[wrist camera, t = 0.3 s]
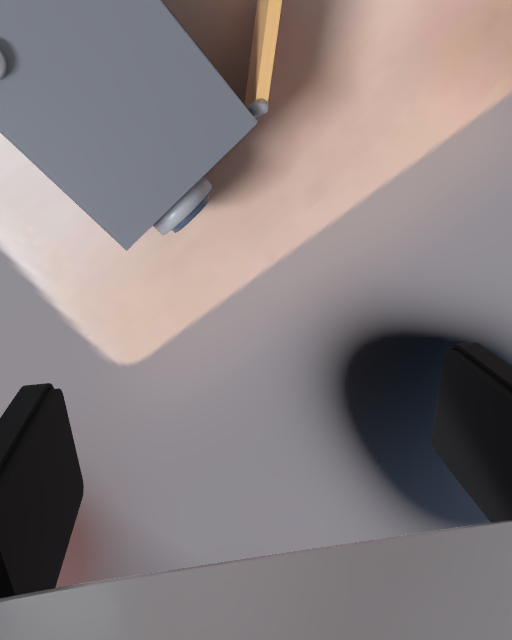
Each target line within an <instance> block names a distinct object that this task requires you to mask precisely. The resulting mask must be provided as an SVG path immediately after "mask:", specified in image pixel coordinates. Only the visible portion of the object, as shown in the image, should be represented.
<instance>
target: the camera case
mask: <svg viewBox="0 0 512 640" xmlns="http://www.w3.org/2000/svg"><path fill="white" fill-rule="evenodd" d="M257 123H258V122H257V121H256V119H255V118H254V117H253V116H252V114H251V113H250V112H249V110H248V109H247V108H246V106H245V105H244V104H243V103H242V101H241V100H240V99H239V98H238V96H237V95H236V94H235V92H234V91H233V90H232V89H231V87H230V86H229V85H228V84H227V82H226V81H225V80H224V79H223V77H222V76H221V75H220V74H219V72H218V71H217V70H216V69H215V67H214V66H213V65H212V64H211V62H210V61H209V60H208V59H207V57H206V56H205V55H204V54H203V52H202V51H201V50H200V49H199V47H198V46H197V45H196V44H195V42H194V41H193V40H192V39H191V37H190V36H189V35H188V34H187V32H186V31H185V30H184V29H183V27H182V26H181V25H180V24H179V22H178V21H177V20H176V19H175V17H174V16H173V15H172V14H171V12H170V11H169V10H168V9H167V7H166V6H165V5H164V4H163V2H162V1H161V0H0V133H1V134H2V135H4V136H5V137H6V138H7V139H8V140H9V141H10V142H11V143H12V144H13V145H14V146H15V147H16V148H17V149H19V150H20V151H21V152H22V153H23V154H24V155H25V156H26V157H27V158H28V159H29V160H30V161H31V162H32V163H33V164H35V165H36V166H37V167H38V168H39V169H40V170H41V171H42V172H43V173H44V174H45V175H46V176H47V177H48V178H50V179H51V180H52V181H53V182H54V183H55V184H56V185H57V186H58V187H59V188H60V189H61V190H62V191H63V192H64V193H66V194H67V195H68V196H69V197H70V198H71V199H72V200H73V201H74V202H75V203H76V204H77V205H78V206H79V207H80V208H82V209H83V210H84V211H85V212H86V213H87V214H88V215H89V216H90V217H91V218H92V219H93V220H94V221H95V222H97V223H98V224H99V225H100V226H101V227H102V228H103V229H104V230H105V231H106V232H107V233H108V234H109V235H110V236H111V237H113V238H114V239H115V240H116V241H117V242H118V243H119V244H120V245H121V246H122V247H123V248H124V249H125V250H126V251H127V250H128V249H129V248H130V247H131V246H132V245H133V244H134V243H135V242H136V241H137V240H138V239H139V238H140V237H141V236H142V235H143V234H144V233H145V232H146V231H147V230H148V229H149V228H151V227H152V226H154V227H155V228H156V229H157V230H158V231H159V232H160V233H161V234H162V235H165V234H167V233H168V232H169V231H171V230H173V231H174V232H175V233H176V232H178V231H179V230H181V229H182V228H183V227H184V226H186V225H187V224H188V223H189V222H190V221H191V220H192V219H193V218H194V217H195V216H196V215H197V214H198V213H199V212H200V211H201V210H202V209H203V208H204V206H205V205H206V204H207V203H208V201H209V198H208V197H207V196H206V195H207V194H208V193H209V192H210V190H211V189H212V187H213V186H212V185H211V184H210V183H209V181H208V180H207V179H206V178H205V177H204V175H205V174H206V173H207V172H208V171H209V170H210V169H211V168H212V167H213V166H214V165H215V164H216V163H217V162H218V161H219V160H220V159H221V158H222V157H223V156H224V155H225V154H226V153H227V152H228V151H229V150H230V149H231V148H232V147H234V146H235V145H236V144H237V143H238V142H239V141H240V140H241V139H242V138H243V137H244V136H245V135H246V134H247V133H248V132H249V131H250V130H251V129H252V128H253V127H254V126H255V125H256V124H257Z"/></svg>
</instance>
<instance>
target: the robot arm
mask: <svg viewBox="0 0 512 640" xmlns="http://www.w3.org/2000/svg"><path fill="white" fill-rule="evenodd" d="M432 445H433V448H434V450H435V452H436V454H437V455H438V456H439V458H440V459H441V460H442V461H443V463H444V464H445V465H446V466H447V468H448V469H449V470H450V472H451V473H452V474H453V475H454V476H455V478H456V479H457V480H458V482H459V483H460V484H461V485H462V487H463V488H464V489H465V490H466V492H467V493H468V494H469V495H470V497H471V498H472V499H473V500H474V502H475V503H476V504H477V506H478V507H479V508H480V509H481V511H482V512H483V513H484V514H485V515H486V517H487V518H488V519H489V521H490V522H491V523H486V524H479V525H472V526H465V527H458V528H451V529H444V530H437V531H430V532H422V533H416V534H409V535H402V536H395V537H388V538H382V539H374V540H368V541H361V542H354V543H347V544H341V545H333V546H327V547H321V548H313V549H307V550H300V551H293V552H286V553H279V554H273V555H267V556H260V557H254V558H246V559H240V560H234V561H227V562H220V563H214V564H208V565H201V566H195V567H188V568H182V569H174V570H168V571H162V572H155V573H148V574H142V575H136V576H130V577H122V578H116V579H110V580H102V581H96V582H90V583H83V584H76V585H70V586H65V587H59V588H55V586H56V583H57V580H58V577H59V573H60V570H61V567H62V564H63V560H64V557H65V553H66V550H67V547H68V544H69V540H70V537H71V534H72V530H73V527H74V524H75V520H76V517H77V514H78V510H79V507H80V504H81V500H82V497H83V479H82V474H81V470H80V466H79V461H78V457H77V453H76V448H75V444H74V440H73V435H72V431H71V427H70V422H69V418H68V414H67V409H66V405H65V401H64V396H63V393H62V391H61V389H54V388H53V386H52V384H50V383H47V384H37V385H26V386H23V387H22V388H21V389H20V390H19V392H18V393H17V395H16V396H15V398H14V399H13V400H12V402H11V403H10V405H9V406H8V408H7V409H6V411H5V412H4V414H3V415H2V416H1V418H0V640H512V366H511V365H509V364H508V363H506V362H505V361H503V360H502V359H500V358H499V357H498V356H496V355H495V354H493V353H492V352H490V351H489V350H488V349H486V348H485V347H483V346H482V345H480V344H479V343H464V344H454V345H452V346H451V348H450V349H449V351H446V352H445V354H444V356H443V362H442V369H441V376H440V384H439V391H438V398H437V406H436V412H435V419H434V427H433V434H432Z"/></svg>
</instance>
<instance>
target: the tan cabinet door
mask: <svg viewBox="0 0 512 640" xmlns="http://www.w3.org/2000/svg"><path fill="white" fill-rule="evenodd" d="M281 5H282V0H257V8H256V17H255V25H254V33H253V41H252V49H251V57H250V65H249V73H248V82H247V90H246V98H245V106H246V108H247V109H248V110H249V112H250V113H251V114H252V116H253V117H254V118H256V117H259V116H262V115H264V114H266V113H267V111H268V109H269V105H268V98H269V91H270V84H271V77H272V69H273V62H274V55H275V48H276V41H277V34H278V27H279V19H280V12H281Z"/></svg>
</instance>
